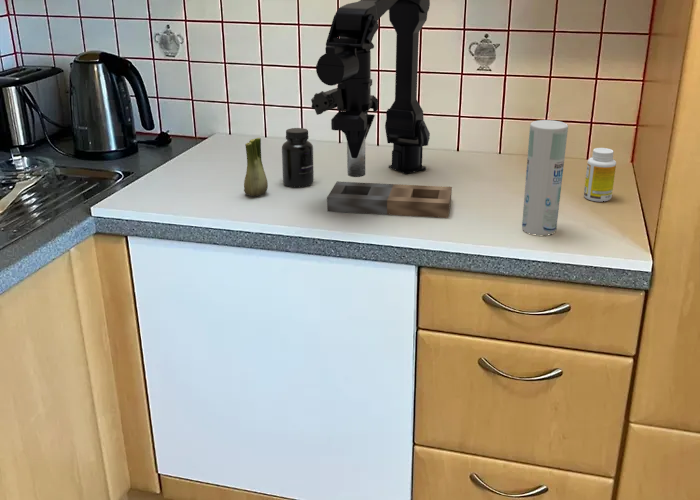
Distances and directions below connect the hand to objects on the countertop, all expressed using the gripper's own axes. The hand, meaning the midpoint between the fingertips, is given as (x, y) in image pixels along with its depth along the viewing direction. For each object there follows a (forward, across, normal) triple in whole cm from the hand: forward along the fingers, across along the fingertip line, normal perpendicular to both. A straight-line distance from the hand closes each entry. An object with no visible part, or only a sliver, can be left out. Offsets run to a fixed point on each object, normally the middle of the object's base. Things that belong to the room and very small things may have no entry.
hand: (356, 155), depth 150 cm
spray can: (+11, +9, +36) cm, 39 cm away
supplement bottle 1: (+11, -11, -15) cm, 22 cm away
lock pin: (+4, 0, 0) cm, 4 cm away
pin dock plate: (+10, 0, +7) cm, 13 cm away
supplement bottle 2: (+11, -11, +49) cm, 51 cm away
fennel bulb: (+11, -3, -22) cm, 25 cm away
